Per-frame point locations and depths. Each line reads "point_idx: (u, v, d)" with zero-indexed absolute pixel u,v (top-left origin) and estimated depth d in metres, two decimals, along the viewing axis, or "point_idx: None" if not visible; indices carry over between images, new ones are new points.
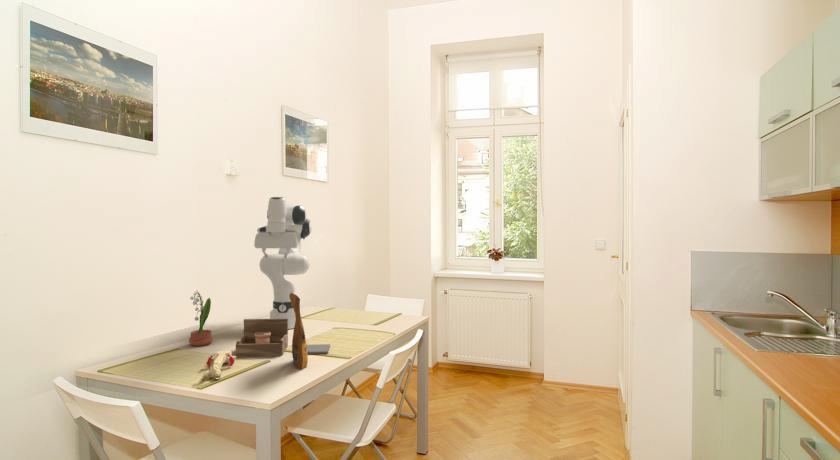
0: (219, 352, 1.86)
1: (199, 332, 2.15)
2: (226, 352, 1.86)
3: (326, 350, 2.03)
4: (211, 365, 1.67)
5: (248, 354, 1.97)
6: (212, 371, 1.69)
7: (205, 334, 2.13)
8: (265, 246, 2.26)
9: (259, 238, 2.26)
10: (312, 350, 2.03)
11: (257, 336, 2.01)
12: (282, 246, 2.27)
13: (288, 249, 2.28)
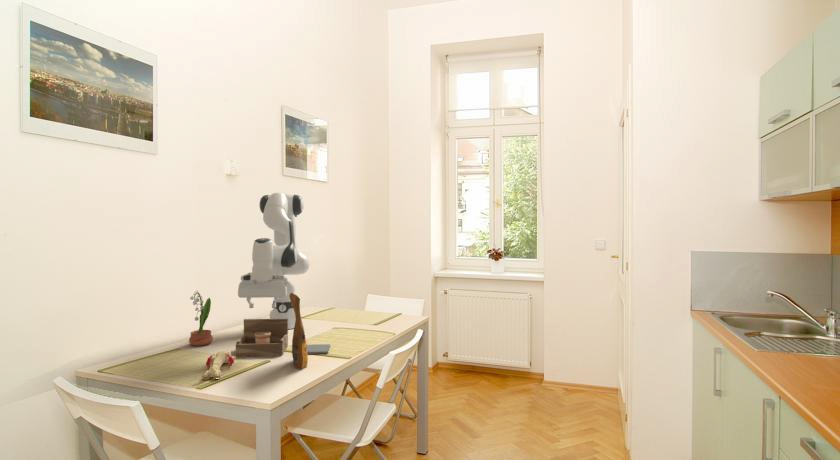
0: (218, 352, 1.86)
1: (199, 332, 2.15)
2: (225, 352, 1.86)
3: (326, 350, 2.03)
4: (211, 365, 1.66)
5: (248, 354, 1.97)
6: (212, 371, 1.68)
7: (205, 334, 2.13)
8: (250, 296, 2.01)
9: (243, 286, 2.01)
10: (312, 350, 2.03)
11: (257, 336, 2.01)
12: (269, 295, 2.02)
13: (276, 298, 2.03)
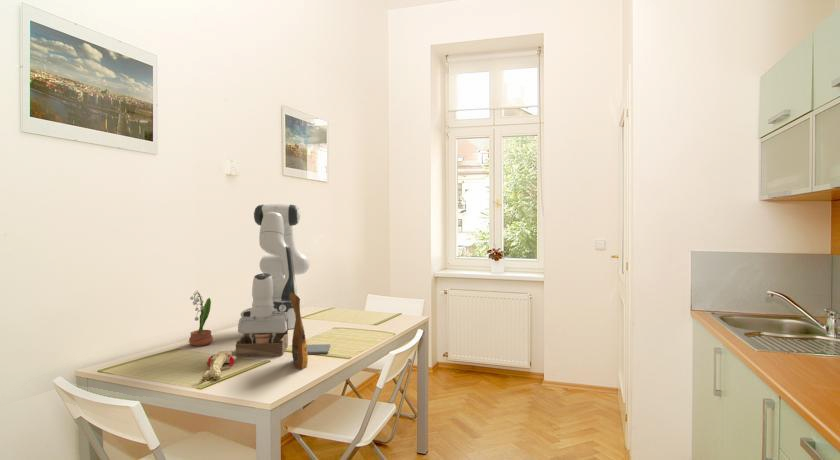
0: (219, 352, 1.86)
1: (199, 332, 2.15)
2: (226, 352, 1.86)
3: (326, 350, 2.03)
4: (211, 365, 1.66)
5: (248, 354, 1.97)
6: (212, 371, 1.68)
7: (205, 334, 2.13)
8: (250, 332, 2.02)
9: (243, 322, 2.01)
10: (312, 350, 2.03)
11: (257, 336, 2.01)
12: (269, 331, 2.02)
13: (273, 334, 2.03)
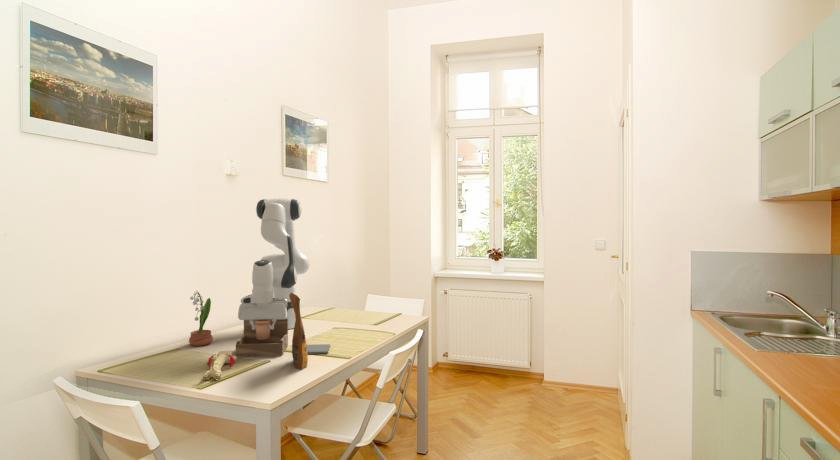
0: (220, 352, 1.86)
1: (199, 332, 2.15)
2: (227, 352, 1.86)
3: (326, 350, 2.03)
4: (211, 365, 1.66)
5: (248, 354, 1.97)
6: (212, 371, 1.68)
7: (205, 334, 2.13)
8: (250, 318, 2.02)
9: (243, 309, 2.01)
10: (312, 350, 2.03)
11: (257, 322, 2.01)
12: (269, 318, 2.03)
13: (274, 320, 2.04)
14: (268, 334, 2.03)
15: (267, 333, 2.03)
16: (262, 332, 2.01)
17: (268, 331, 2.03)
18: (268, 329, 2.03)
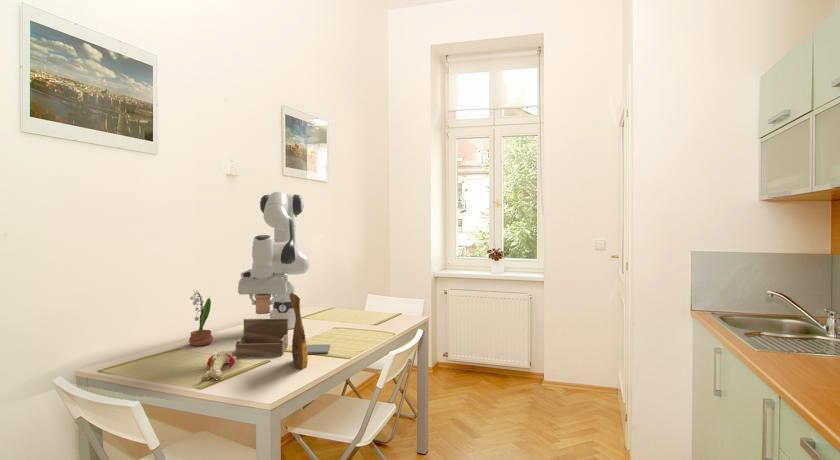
0: (219, 352, 1.86)
1: (199, 332, 2.15)
2: (226, 352, 1.86)
3: (326, 350, 2.03)
4: (211, 365, 1.66)
5: (248, 354, 1.97)
6: (212, 371, 1.68)
7: (205, 334, 2.13)
8: (250, 292, 2.01)
9: (243, 283, 2.01)
10: (312, 350, 2.03)
11: (257, 297, 2.01)
12: (269, 292, 2.02)
13: (274, 295, 2.03)
14: (268, 309, 2.03)
15: (267, 307, 2.02)
16: (262, 307, 2.01)
17: (268, 305, 2.02)
18: (268, 304, 2.03)
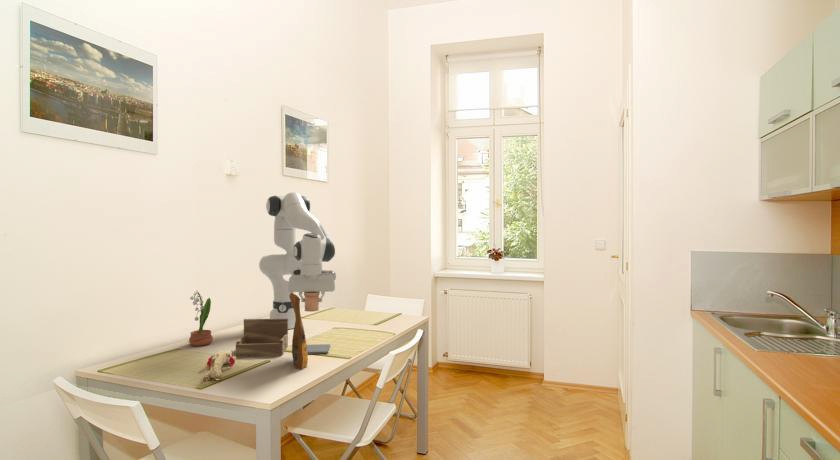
0: (219, 352, 1.86)
1: (199, 332, 2.15)
2: (226, 352, 1.86)
3: (326, 350, 2.03)
4: (211, 366, 1.66)
5: (248, 354, 1.97)
6: (212, 372, 1.68)
7: (205, 334, 2.13)
8: (300, 290, 2.03)
9: (293, 281, 2.03)
10: (312, 350, 2.03)
11: (307, 294, 2.03)
12: (318, 290, 2.04)
13: (323, 293, 2.05)
14: (317, 306, 2.05)
15: (316, 305, 2.04)
16: (312, 304, 2.03)
17: (317, 303, 2.04)
18: (317, 301, 2.05)
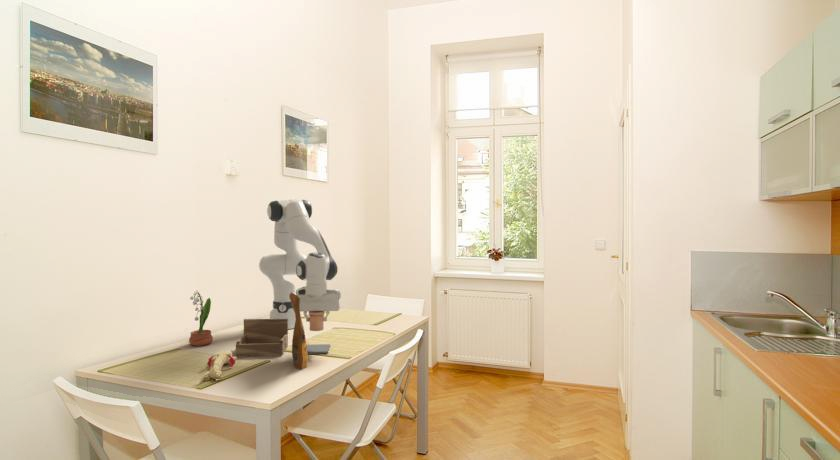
0: (220, 353, 1.85)
1: (199, 332, 2.15)
2: (227, 353, 1.86)
3: (326, 350, 2.03)
4: (211, 366, 1.66)
5: (248, 354, 1.97)
6: (212, 372, 1.68)
7: (205, 334, 2.13)
8: (305, 309, 2.04)
9: None
10: (312, 350, 2.03)
11: (312, 314, 2.03)
12: (323, 309, 2.05)
13: (327, 312, 2.06)
14: (322, 325, 2.05)
15: (321, 324, 2.05)
16: (316, 323, 2.03)
17: (322, 322, 2.05)
18: (322, 321, 2.05)
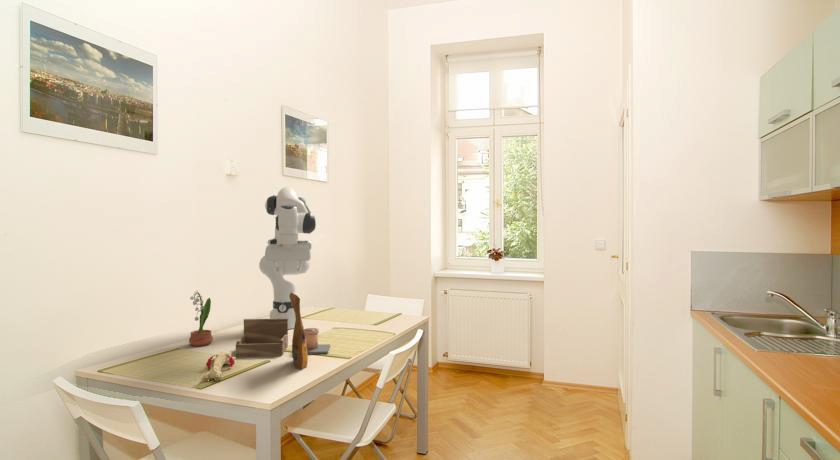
0: (219, 353, 1.85)
1: (199, 332, 2.15)
2: (226, 353, 1.85)
3: (326, 350, 2.03)
4: (211, 366, 1.65)
5: (248, 354, 1.97)
6: (212, 372, 1.67)
7: (205, 334, 2.13)
8: (276, 259, 2.12)
9: (270, 250, 2.12)
10: (312, 350, 2.03)
11: (306, 332, 2.04)
12: (294, 259, 2.13)
13: (301, 262, 2.14)
14: (316, 344, 2.06)
15: (316, 342, 2.05)
16: (311, 342, 2.04)
17: (316, 341, 2.06)
18: (316, 339, 2.06)
